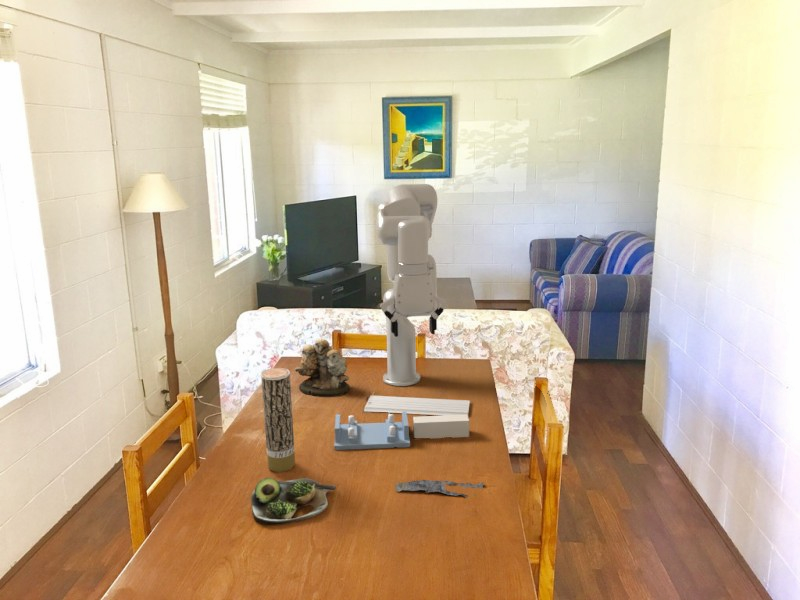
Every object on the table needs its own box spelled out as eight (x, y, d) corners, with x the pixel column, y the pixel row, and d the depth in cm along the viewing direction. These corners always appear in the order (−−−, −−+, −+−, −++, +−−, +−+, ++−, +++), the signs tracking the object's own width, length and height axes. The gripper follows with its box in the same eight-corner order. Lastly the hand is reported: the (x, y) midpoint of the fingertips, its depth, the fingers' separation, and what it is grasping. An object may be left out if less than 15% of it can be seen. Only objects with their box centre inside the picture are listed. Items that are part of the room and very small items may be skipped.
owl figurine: (291, 395, 210) (287, 344, 206) (302, 382, 221) (299, 333, 217) (346, 397, 207) (343, 346, 203) (354, 384, 218) (352, 335, 214)
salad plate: (330, 476, 161) (329, 459, 159) (344, 516, 144) (343, 498, 143) (249, 489, 156) (248, 471, 154) (254, 532, 139) (252, 513, 138)
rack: (334, 450, 173) (333, 432, 172) (336, 428, 186) (335, 411, 184) (410, 446, 174) (410, 428, 173) (406, 425, 187) (406, 408, 186)
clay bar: (414, 439, 179) (414, 423, 178) (413, 433, 183) (412, 416, 181) (469, 437, 180) (469, 420, 179) (466, 431, 184) (466, 414, 182)
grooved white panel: (467, 421, 190) (469, 405, 202) (467, 412, 190) (469, 396, 201) (362, 415, 195) (370, 400, 207) (362, 406, 194) (370, 391, 206)
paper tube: (262, 467, 165) (255, 373, 159) (284, 457, 170) (278, 366, 164) (278, 476, 161) (272, 380, 154) (300, 465, 165) (295, 372, 159)
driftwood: (392, 494, 153) (392, 486, 153) (397, 479, 160) (397, 471, 159) (481, 503, 149) (481, 495, 149) (483, 487, 156) (483, 479, 155)
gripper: (443, 264, 171) (443, 328, 175) (377, 268, 168) (378, 332, 172) (450, 270, 164) (450, 336, 168) (381, 273, 161) (383, 340, 165)
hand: (413, 334), depth 170 cm, fingers open, 9 cm apart
